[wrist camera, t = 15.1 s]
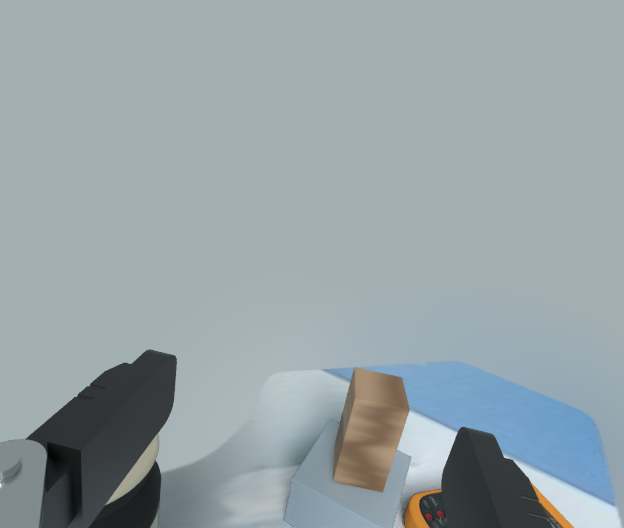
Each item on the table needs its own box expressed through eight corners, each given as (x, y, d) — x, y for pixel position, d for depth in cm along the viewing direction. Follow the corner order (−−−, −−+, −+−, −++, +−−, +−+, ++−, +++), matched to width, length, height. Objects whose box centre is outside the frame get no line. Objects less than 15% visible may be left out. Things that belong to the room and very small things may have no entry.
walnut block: (332, 481, 37) (355, 397, 34) (334, 443, 42) (354, 367, 39) (382, 492, 37) (409, 409, 34) (378, 453, 42) (401, 377, 39)
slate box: (283, 522, 39) (292, 478, 37) (321, 456, 47) (330, 418, 45) (375, 578, 35) (391, 532, 33) (398, 496, 44) (411, 456, 42)
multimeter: (392, 516, 41) (400, 493, 40) (512, 489, 48) (522, 469, 47) (441, 605, 34) (452, 580, 33) (575, 559, 40) (588, 537, 39)
